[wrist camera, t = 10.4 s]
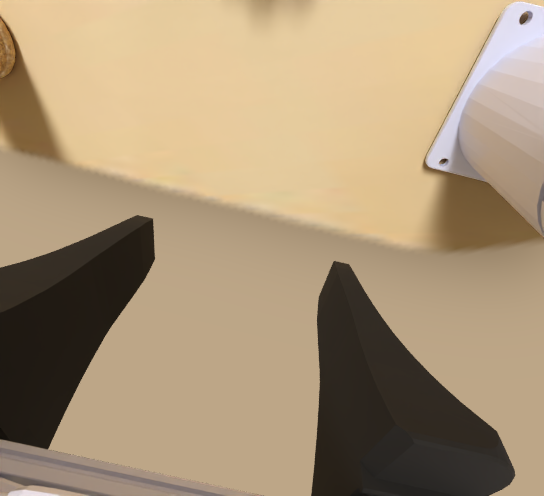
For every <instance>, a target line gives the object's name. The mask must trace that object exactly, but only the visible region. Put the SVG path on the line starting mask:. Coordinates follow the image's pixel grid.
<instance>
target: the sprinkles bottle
mask: <svg viewBox="0 0 544 496" xmlns="http://www.w3.org/2000/svg"><path fill="white" fill-rule="evenodd" d="M14 63H15V49H14V44H13V41H12V38H11V36H10V33H9V32H8V30H7V28H6V26H5V24H4V22H3V21H2V20H1V18H0V78H2V77H5V76H6V75H8V74H9V73H10V72H11V71H12V67H13V66H14Z"/></svg>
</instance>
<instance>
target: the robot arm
mask: <svg viewBox="0 0 544 496" xmlns="http://www.w3.org/2000/svg"><path fill="white" fill-rule="evenodd" d="M524 12H528V19H527V20H526V22H525V23H524V24H522V25H521V24H520V23H519V19H520V16H521V15H522V14H523V13H524ZM443 158H447V160H446V162H445V163H444V164H439V161H440V160H441V159H443ZM425 163H426V164H427V165H428V167H430V168H433V169H437V170H441V171H445V172H449V173H453V174H457V175H461V176H465V177H469V178H473V179H477V180H481V181H485V182H488V183H489V184H490V185H491V186H492V187H493V188H494V189H495V190H496V191H497V192H498V193H499V194H500V195H501V196H502V197H503V198H504V199H505V200H506V201H507V202H508V203H509V204H510V205H511V206H512V207H513V208H514V209H515V210H516V211H517V212H518V213H519V214H520V215H521V216H522V217H523V218H524V219H525V220H526V221H527V222H528V223H529V224H530V225H531V226H532V227H533V228H534V229H535V230H536V231H537V232H538V233H539V234H540V235H541V236H542V237H543V238H544V7H542V6H538V5H534V4H530V3H526V2H513V3H511V4H509V5H508V6H507V7H505V8H504V10H503V11H502V13H501V14H500V16H499V18H498V20H497V22H496V24H495V26H494V28H493V30H492V32H491V33H490V35H489V37H488V39H487V41H486V43H485V45H484V47H483V49H482V51H481V53H480V54H479V56H478V58H477V60H476V62H475V64H474V66H473V68H472V70H471V72H470V74H469V75H468V77H467V79H466V81H465V83H464V85H463V87H462V89H461V91H460V93H459V95H458V96H457V98H456V100H455V102H454V104H453V106H452V108H451V110H450V112H449V114H448V116H447V117H446V119H445V121H444V123H443V125H442V127H441V129H440V131H439V133H438V135H437V137H436V138H435V140H434V142H433V144H432V146H431V148H430V150H429V152H428V154H427V156H426V158H425ZM154 260H155V253H154V230H153V219H152V218H147V217H143V216H139V215H137V216H134V217H132V218H130V219H127V220H125V221H123V222H121V223H119V224H117V225H114V226H112V227H110V228H108V229H106V230H104V231H102V232H99V233H97V234H95V235H93V236H91V237H88V238H86V239H84V240H81V241H79V242H77V243H74V244H71V245H69V246H66V247H64V248H62V249H59V250H56V251H54V252H51V253H48V254H46V255H42V256H39V257H36V258H33V259H30V260H27V261H23V262H20V263H17V264H13V265H9V266H5V267H1V268H0V496H262V495H258V494H253V493H248V492H244V491H239V490H234V489H230V488H225V487H220V486H216V485H211V484H206V483H201V482H197V481H192V480H188V479H183V478H178V477H174V476H169V475H164V474H159V473H155V472H150V471H146V470H141V469H136V468H132V467H127V466H122V465H118V464H113V463H108V462H104V461H99V460H94V459H90V458H85V457H80V456H76V455H71V454H66V453H62V452H57V451H52V450H48V448H49V446H50V444H51V441H52V439H53V437H54V435H55V433H56V431H57V428H58V426H59V424H60V422H61V420H62V418H63V415H64V413H65V411H66V409H67V407H68V405H69V403H70V401H71V399H72V397H73V395H74V393H75V391H76V389H77V387H78V385H79V383H80V381H81V379H82V377H83V375H84V374H85V372H86V370H87V368H88V366H89V364H90V362H91V360H92V359H93V357H94V355H95V353H96V351H97V350H98V348H99V346H100V344H101V342H102V341H103V339H104V337H105V335H106V334H107V332H108V331H109V329H110V328H111V326H112V325H113V323H114V322H115V321H116V319H117V318H118V316H119V315H120V313H121V312H122V311H123V309H124V308H125V307H126V305H127V304H128V302H129V301H130V300H131V298H132V297H133V295H134V294H135V293H136V291H137V290H138V288H139V287H140V285H141V284H142V283H143V281H144V279H145V278H146V276H147V274H148V272H149V270H150V268H151V266H152V264H153V262H154ZM317 328H318V346H319V347H318V348H319V366H320V391H319V411H318V427H317V440H316V452H315V465H314V475H313V485H312V494H311V496H489V495H491V494H493V493H495V492H498V491H500V490H502V489H503V488H505V487H506V486H508V485H510V483H511V482H512V480H513V479H514V477H515V471H514V468H513V466H512V463H511V461H510V459H509V457H508V455H507V452H506V450H505V448H504V446H503V444H502V441H501V439H500V437H499V435H498V433H497V431H496V430H494V429H493V428H492V427H491V426H490V425H488V424H487V423H486V422H485V421H483V420H482V419H481V418H480V417H478V416H477V415H476V414H474V413H473V412H472V411H471V410H470V409H468V408H467V407H466V406H465V405H464V404H462V403H461V402H460V401H459V400H458V399H457V398H456V397H455V396H453V395H452V394H451V393H450V392H449V391H448V390H447V389H446V388H445V387H443V386H442V385H441V384H440V383H439V382H438V381H437V380H436V379H435V378H434V377H433V376H432V375H431V374H430V373H429V372H428V371H427V370H426V369H425V368H424V367H423V366H422V365H421V364H420V363H419V362H418V361H417V360H416V359H415V358H414V357H413V355H412V354H411V353H410V352H409V351H408V350H407V349H406V348H405V346H404V345H403V344H402V343H401V342H400V340H399V339H398V338H397V337H396V336H395V334H394V333H393V332H392V330H391V329H390V328H389V327H388V325H387V324H386V322H385V321H384V320H383V318H382V317H381V315H380V314H379V313H378V311H377V310H376V308H375V307H374V305H373V304H372V302H371V300H370V299H369V297H368V296H367V294H366V293H365V291H364V289H363V288H362V286H361V284H360V282H359V281H358V279H357V277H356V275H355V274H354V272H353V271H352V268H351V267H350V265H349V264H345V263H340V262H336V261H334V262H333V265H332V267H331V269H330V272H329V274H328V276H327V279H326V281H325V284H324V286H323V288H322V291H321V293H320V296H319V302H318V315H317Z"/></svg>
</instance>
